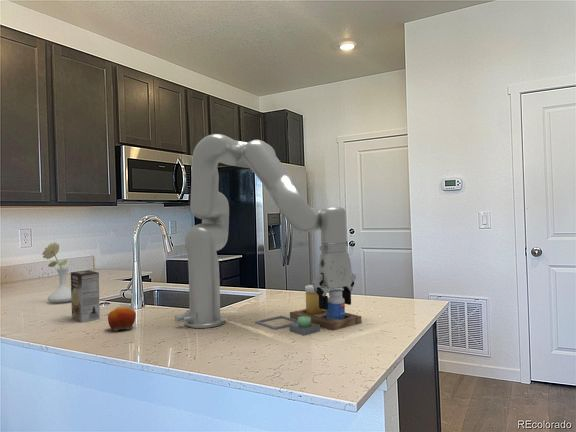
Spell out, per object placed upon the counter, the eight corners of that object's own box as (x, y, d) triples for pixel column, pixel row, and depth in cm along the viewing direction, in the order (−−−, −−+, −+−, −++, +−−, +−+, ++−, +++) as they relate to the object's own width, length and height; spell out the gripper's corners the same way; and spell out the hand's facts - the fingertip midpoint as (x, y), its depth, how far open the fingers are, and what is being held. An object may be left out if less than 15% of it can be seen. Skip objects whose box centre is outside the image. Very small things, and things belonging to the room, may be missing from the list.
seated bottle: (313, 320, 131) (312, 288, 131) (302, 318, 135) (301, 286, 135) (326, 318, 134) (325, 286, 134) (314, 315, 138) (314, 284, 138)
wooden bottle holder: (332, 334, 119) (332, 323, 119) (290, 322, 134) (289, 312, 134) (361, 326, 127) (361, 316, 127) (318, 316, 142) (317, 306, 142)
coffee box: (70, 318, 147) (69, 272, 147) (89, 315, 152) (88, 270, 152) (81, 322, 141) (80, 274, 141) (101, 319, 145) (99, 271, 145)
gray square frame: (275, 333, 122) (275, 327, 122) (255, 327, 130) (255, 321, 130) (302, 327, 128) (302, 321, 128) (281, 321, 136) (281, 315, 136)
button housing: (303, 339, 115) (303, 328, 115) (289, 335, 120) (289, 324, 120) (320, 335, 119) (319, 324, 119) (305, 331, 124) (305, 320, 124)
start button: (303, 327, 117) (303, 319, 117) (295, 324, 120) (295, 317, 120) (313, 324, 119) (313, 317, 119) (305, 322, 122) (304, 315, 122)
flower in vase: (69, 297, 186) (68, 240, 186) (83, 300, 179) (82, 241, 179) (38, 303, 175) (36, 242, 175) (51, 306, 169) (50, 243, 169)
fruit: (109, 330, 124) (108, 304, 128) (108, 339, 130) (106, 314, 134) (139, 326, 128) (136, 301, 132) (136, 335, 134) (133, 310, 138)
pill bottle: (344, 326, 124) (343, 292, 124) (325, 325, 125) (325, 291, 125) (345, 321, 129) (345, 289, 129) (328, 320, 130) (327, 288, 130)
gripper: (321, 251, 118) (322, 313, 118) (363, 247, 129) (364, 304, 129) (303, 250, 124) (305, 309, 124) (345, 246, 135) (346, 300, 135)
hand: (335, 306), depth 127 cm, fingers open, 9 cm apart
